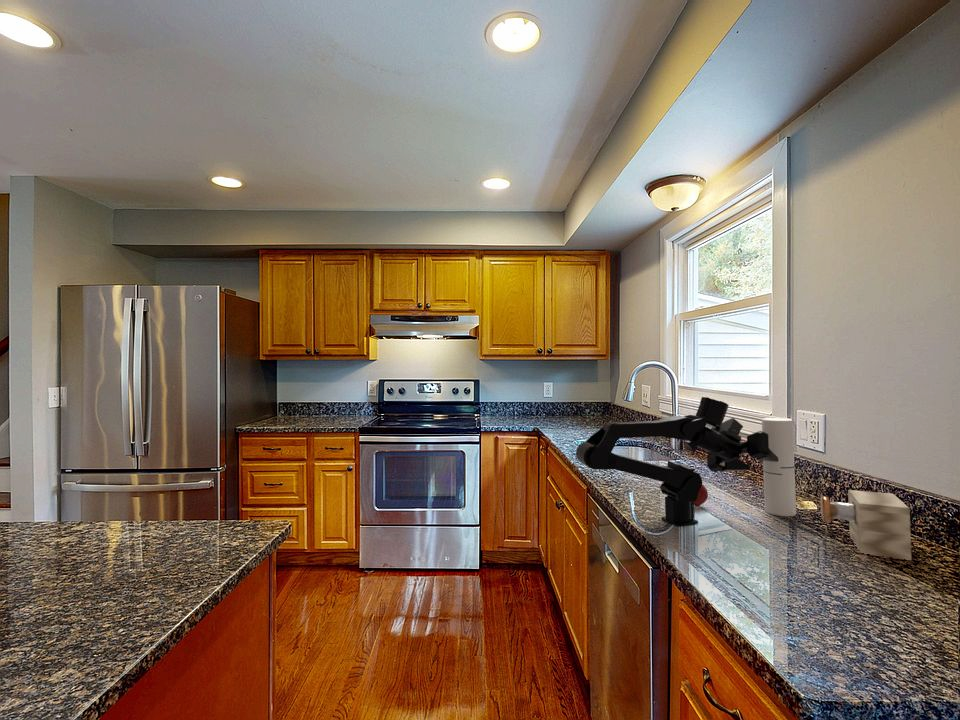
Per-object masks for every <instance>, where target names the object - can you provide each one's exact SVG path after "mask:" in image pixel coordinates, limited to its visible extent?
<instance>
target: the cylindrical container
mask: <svg viewBox="0 0 960 720" xmlns="http://www.w3.org/2000/svg"><path fill="white" fill-rule="evenodd" d="M761 429H762V430H761V431H763V432H765V433H767V434H768V441H769V449H770V450H771V451H772V452H773V453H774V454H775V455H776V456H777V457H778V462H772V461H763V460H762V461H763V462H762V463H763V464H762V467H763V492H764V494H763V498H764V511H765V512H766V513H768V514H770V515H774V516H778V517H779V516H780V517H795V516H796V515H797V503H796V502H797V499H796V475H795V474H796V472H795V446H794V445H795V442H794V420H793V419H790V418H783V417H781V418H779V417H766V418H765V417H764V418H761Z"/></svg>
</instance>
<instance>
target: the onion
mask: <svg viewBox="0 0 960 720" xmlns="http://www.w3.org/2000/svg"><path fill="white" fill-rule="evenodd" d="M708 496H709V494H708V489H707V488H706V486H705V485H704V484H703V483H702V487H701V489H700V490H699V493H698V497H697V500H696V501H693V503H694V506H695V507H697V508H698V507H700V506H701V505H703V504H704V503H705V502H706V501H708V498H709V497H708Z"/></svg>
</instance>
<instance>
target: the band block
mask: <svg viewBox="0 0 960 720" xmlns="http://www.w3.org/2000/svg"><path fill="white" fill-rule="evenodd" d="M847 494H848V496H847V497H848V503H851V504H855V505H856V521H853V520H848V521H849V522H848V523H849V525H848V526H849V536H850V538H851V540H852V541H853V543H854V545H855V544H856V545H855V546H856V548H857V549H858V551H859V552H861V553H864V554H863V555H867V554H870V555H869V556H876V557H882V556H885V558H889V557H893V558H892V559H897V558H899V559H898V560H904V559H905V560H907V561H912V541H911V540H912V539H911V515H910V507H909V506H908V505H906V504H905V503H904V502H903V501H902V500H901V499H900V498H898V497H897V496H896V495H895V494H894V493H890V492H889V493H888V492H876V491H867V490H866V491H865V490H856V489H853V490H851V489H847ZM861 553H860V554H861Z"/></svg>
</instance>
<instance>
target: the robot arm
mask: <svg viewBox="0 0 960 720" xmlns="http://www.w3.org/2000/svg"><path fill="white" fill-rule="evenodd" d="M729 407H730V404H729V403H726V402H725V401H722V400H717V399H714V398H710V397H708V396H701V399H700V403H699V405H698V408H697V411H696V413H695V414H686V415H683V416H680V415H670V416H665V417H662V418H660V419H658V420H657V419H656V420H649V421H646V420H644V421H643V420H642V421H621V422H618V421H617V422H616V421H615V422H613V421H607V422H605V423H604V424H603V425H602V426H601V428H599V429H598V430H597V431H596V432H595V433H593V434H592V435H590V437H588V439H586V441H583V442H582V443H580V444H579V445H578V446H577V448H576V450H575V456H576V459H577V460H578V462H579V463H581V464H582V465H584V466H586V467H588V468H589V469H591V470H599V471H601V470H604V471H609V470H614V471H615V470H616V471H619V472H624V473H628V474H631V475H636V476H639V477H643V478H646V479H650V480H655V481H659V482H662V483H661V484H660V486H659V488H660V492H661V493H662V494H663V495H666V496H664V516H661V518H660V519H661V520H662V519H663V520H662V521H665V522H667V523H670V524H672V525H675V526H677V527H682V526H689V525H694V524H698V523H699V520H697V519H695V511H694V510H695V507H694V506H695V505H694V503H693V501H696V500H697V497H698V493H699V490H700V489H701V487H702V484H703V478H702V476H701V474H700V473H699V472H696V471H695V470H696V469H695V468H693V467H690V466H687V465H685V464H682V463H675V462H674V461H669V460H668V461H667V465H659V464H654V463H650V462H647V461H643V460H639V459H636V458H632V457H627V456H624V455H620V454H617V453H614V452H613V450H614V448H615V446H616V445H617V442H619V440H620V439H626V438H627V439H628V438H650V437H651V438H653V437H654V438H655V437H665V438H670V439H676V440H682V441H683V444H684V447H685V450H686V451H688V452H691V453H696V451H697V448H699V449H701V450H704V451H706V452H707V458H706V459H707V460H706V464H707V465H706V466H707V467H708V469H709V471H711V472H714V473H718V472H721V473H722V472H735V471H737V472H738V471H739V472H740V471H742V472H744V471H750V470H751V466H750V465H749V464H748V463H745V462H744V461H742V460H740V458H741V455H742V454H744V453H747V455H748V456H749V457H751V458H753V459H756V460H757V461H772V462H778V457H777V456H776V455H775V454H774V453H773V452H772V451H771V450H770V449H769V441H768V434H767V433H765V432H763V431H762V430H758V431H755V432H753V433H749V434H748V435H747V436H746V441H744V442H742V443H741V441H742V436H741V435H740V432H741V430H742V429H743V428H744V426H743V424H741V423H740V422H739V421H738V420H737V419H736V418H734V417H731V418H729V419H727V420H725V421H724V419H725V417H726V415H727V411H728V409H729ZM710 427H711V428H710Z"/></svg>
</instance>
